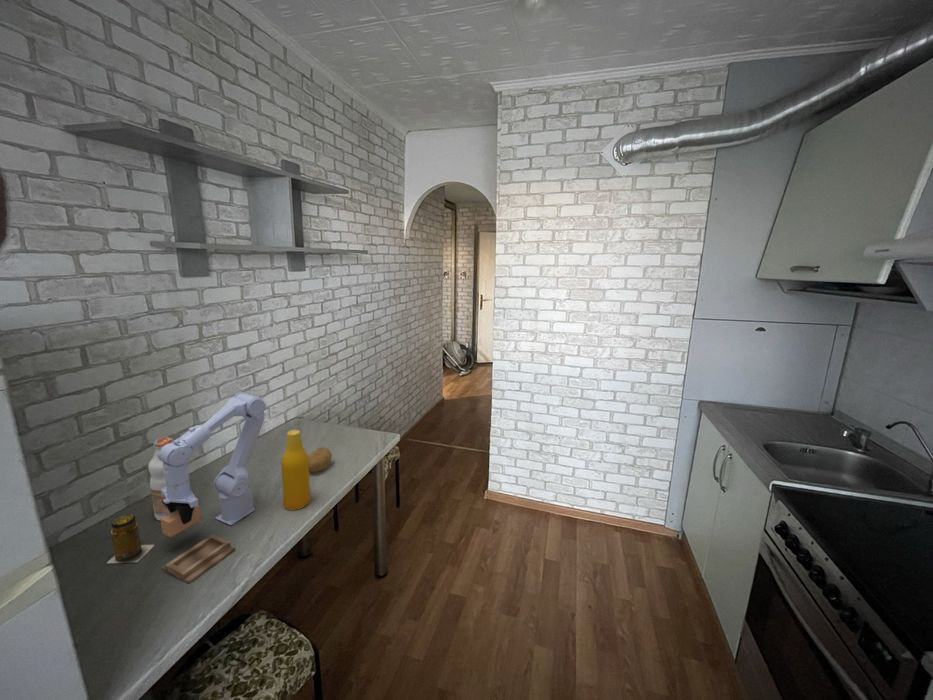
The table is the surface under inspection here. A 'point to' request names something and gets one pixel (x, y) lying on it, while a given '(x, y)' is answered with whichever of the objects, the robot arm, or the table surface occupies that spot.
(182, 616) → the table surface
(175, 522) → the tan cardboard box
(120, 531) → the condiment
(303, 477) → the yellow bottle
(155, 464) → the fruit juice
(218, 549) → the cradle jig
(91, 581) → the table surface
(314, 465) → the potato
